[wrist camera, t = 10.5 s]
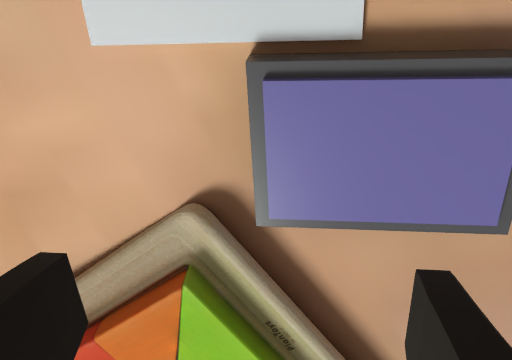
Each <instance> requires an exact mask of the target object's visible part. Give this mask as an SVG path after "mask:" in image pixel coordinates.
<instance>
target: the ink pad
mask: <svg viewBox="0 0 512 360" xmlns="http://www.w3.org/2000/svg"><path fill="white" fill-rule="evenodd" d="M246 74H247V89H248V105H249V120H250V136H251V151H252V167H253V182H254V198H255V213H256V226H270V227H299V228H328V229H357V230H387V231H416V232H445V233H474V234H504V235H508V232H509V228H510V224H511V220H512V50H463V51H410V52H358V53H305V54H253V55H249V57H248V59H247V61H246Z"/></svg>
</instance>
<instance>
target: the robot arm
mask: <svg viewBox="0 0 512 360" xmlns="http://www.w3.org/2000/svg"><path fill="white" fill-rule="evenodd" d="M88 323H89V322H88V319H87V316H86V313H85V310H84V306H83V303H82V300H81V297H80V294H79V291H78V288H77V285H76V282H75V278H74V275H73V272H72V269H71V266H70V263H69V260H68V257H67V254H66V253H46V252H40V253H38V254H36V255H35V256H33V257H31V258H29V259H28V260H26V261H24V262H23V263H21V264H19V265H18V266H16V267H14V268H13V269H11V270H10V271H8V272H7V273H5V274H4V275H2V276H0V360H74V358H75V356H76V354H77V351H78V349H79V346H80V344H81V341H82V339H83V336H84V333H85V331H86V328H87V325H88ZM405 350H406V359H407V360H512V347H511V346H510V345H509V344H508V343H507V342H506V340H505V339H504V338H503V337H502V336H501V334H500V333H499V332H498V331H497V330H496V328H495V327H494V326H493V325H492V323H491V322H490V321H489V320H488V318H487V317H486V316H485V315H484V313H483V312H482V311H481V310H480V308H479V307H478V306H477V305H476V303H475V302H474V301H473V299H472V298H471V297H470V296H469V294H468V293H467V292H466V290H465V289H464V288H463V286H462V285H461V284H460V283H459V281H458V280H457V279H456V277H455V276H454V275H453V274H452V273H451V272H450V271H443V270H421V269H416V273H415V279H414V286H413V293H412V299H411V306H410V313H409V319H408V326H407V333H406V339H405Z"/></svg>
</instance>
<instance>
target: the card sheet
mask: <svg viewBox="0 0 512 360" xmlns="http://www.w3.org/2000/svg"><path fill="white" fill-rule="evenodd" d="M81 1H82V6H83V10H84V15H85V19H86V23H87V28H88V32H89V37H90V41H91V46H99V45H142V44H186V43H229V42H273V41H316V40H360V39H362V30H363V13H364V0H81Z"/></svg>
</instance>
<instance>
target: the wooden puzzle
mask: <svg viewBox="0 0 512 360" xmlns="http://www.w3.org/2000/svg"><path fill="white" fill-rule="evenodd" d="M75 282H76V285H77V288H78V291H79V294H80V297H81V300H82V303H83V306H84V310H85V313H86V316H87V319H88V322H89V323H88V325H87V328H86V331H85V333H84V336H83V339H82V341H81V344H80V346H79V349H78V351H77V354H76V356H75V358H74V360H346V359H345V358H344V357H343V356H342V355H341V354H340V353H339V352H338V351H337V350H336V349H335V347H334V346H333V345H332V344H331V343H330V342H329V341H328V340H327V339H326V338H325V337H324V335H323V334H322V333H321V332H320V331H319V330H318V329H317V328H316V327H315V326H314V324H313V323H312V322H311V321H310V320H309V319H308V318H307V317H306V316H305V315H304V314H303V312H302V311H301V310H300V309H299V308H298V307H297V306H296V305H295V304H294V303H293V301H292V300H291V299H290V298H289V297H288V296H287V295H286V294H285V293H284V292H283V290H282V289H281V288H280V287H279V286H278V285H277V284H276V283H275V282H274V281H273V279H272V278H271V277H270V276H269V275H268V274H267V273H266V272H265V271H264V270H263V268H262V267H261V266H260V265H259V264H258V263H257V262H256V261H255V260H254V259H253V258H252V256H251V255H250V254H249V253H248V252H247V251H246V250H245V249H244V248H243V247H242V245H241V244H240V243H239V242H238V241H237V240H236V239H235V238H234V237H233V236H232V235H231V233H230V232H229V231H228V230H227V229H226V228H225V227H224V226H223V225H222V224H221V223H220V221H219V220H218V219H217V218H216V217H215V216H214V215H213V214H212V213H211V212H210V211H209V210H208V209H206V208H205V207H204V206H202V205H200V204H196V203H189V204H187V205H185V206H183V207H181V208H179V209H178V210H176V211H174V212H173V213H171V214H170V215H168V216H166V217H165V218H163V219H162V220H160V221H159V222H157V223H155V224H154V225H152V226H151V227H149V228H148V229H146V230H145V231H143V232H142V233H140V234H139V235H137V236H136V237H134V238H133V239H131V240H130V241H128V242H127V243H125V244H124V245H123V246H121V247H120V248H118V249H117V250H115V251H114V252H112V253H111V254H109V255H108V256H107V257H105V258H104V259H102V260H101V261H99V262H98V263H96V264H95V265H94V266H92V267H91V268H89V269H88V270H86V271H85V272H83V273H82V274H80V275H79V276H78V277H76V278H75Z"/></svg>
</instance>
